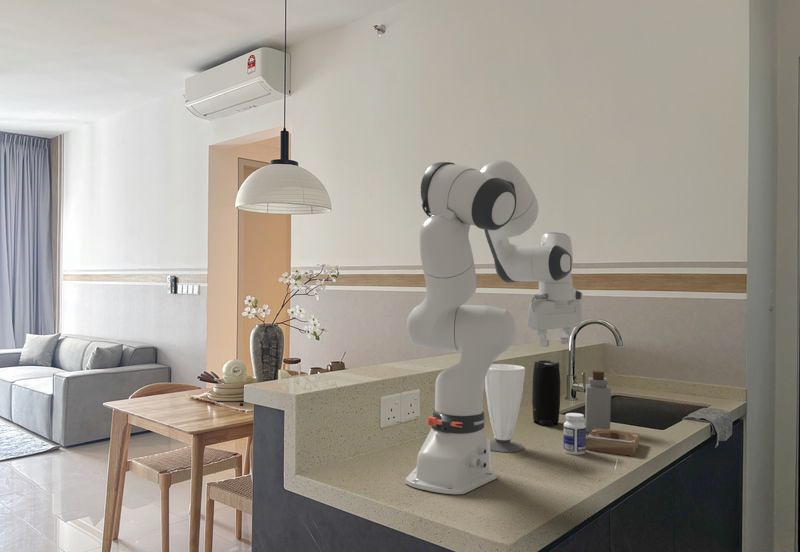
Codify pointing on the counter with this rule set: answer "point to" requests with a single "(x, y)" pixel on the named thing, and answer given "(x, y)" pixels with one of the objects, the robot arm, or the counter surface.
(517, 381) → the cup
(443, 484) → the robot arm
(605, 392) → the perfume bottle
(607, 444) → the jig
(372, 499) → the counter surface
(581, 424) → the pill bottle
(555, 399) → the portable speaker
